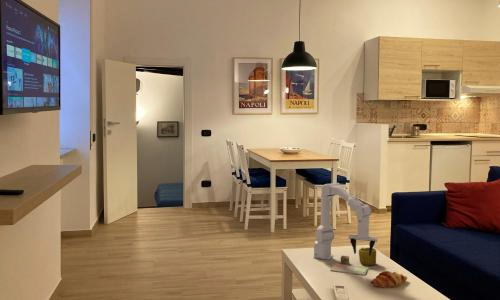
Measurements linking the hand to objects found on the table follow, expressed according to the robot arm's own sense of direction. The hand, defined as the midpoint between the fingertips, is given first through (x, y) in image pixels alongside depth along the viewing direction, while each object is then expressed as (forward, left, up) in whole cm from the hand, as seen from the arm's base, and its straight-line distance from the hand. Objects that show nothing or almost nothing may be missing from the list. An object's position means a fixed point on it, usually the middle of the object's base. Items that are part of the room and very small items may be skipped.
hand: (362, 254), depth 242 cm
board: (-7, +2, -10) cm, 12 cm away
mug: (0, +17, -10) cm, 20 cm away
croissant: (+15, -11, -10) cm, 21 cm away
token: (-11, +10, -10) cm, 18 cm away
